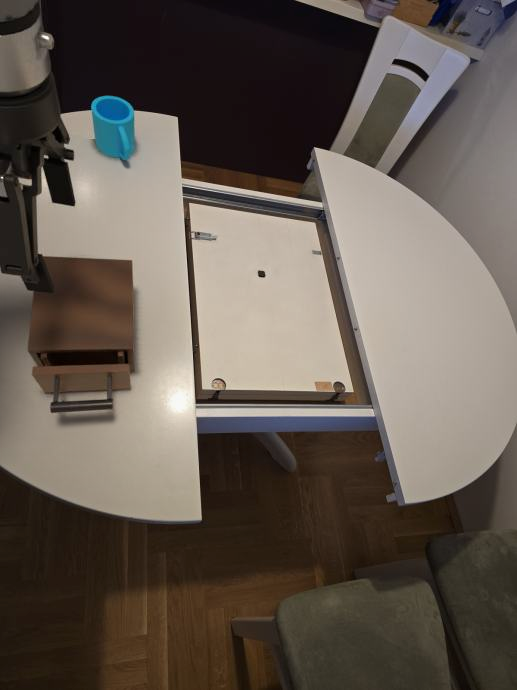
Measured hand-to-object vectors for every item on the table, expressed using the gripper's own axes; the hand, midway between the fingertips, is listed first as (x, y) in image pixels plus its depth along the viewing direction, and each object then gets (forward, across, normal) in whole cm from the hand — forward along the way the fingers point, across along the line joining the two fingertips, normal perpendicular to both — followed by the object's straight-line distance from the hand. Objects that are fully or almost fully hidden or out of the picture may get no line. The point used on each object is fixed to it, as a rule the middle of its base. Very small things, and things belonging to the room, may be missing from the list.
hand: (53, 243), depth 49 cm
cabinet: (+21, -1, -3) cm, 21 cm away
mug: (+21, +43, -1) cm, 48 cm away
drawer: (+20, -8, -3) cm, 22 cm away
